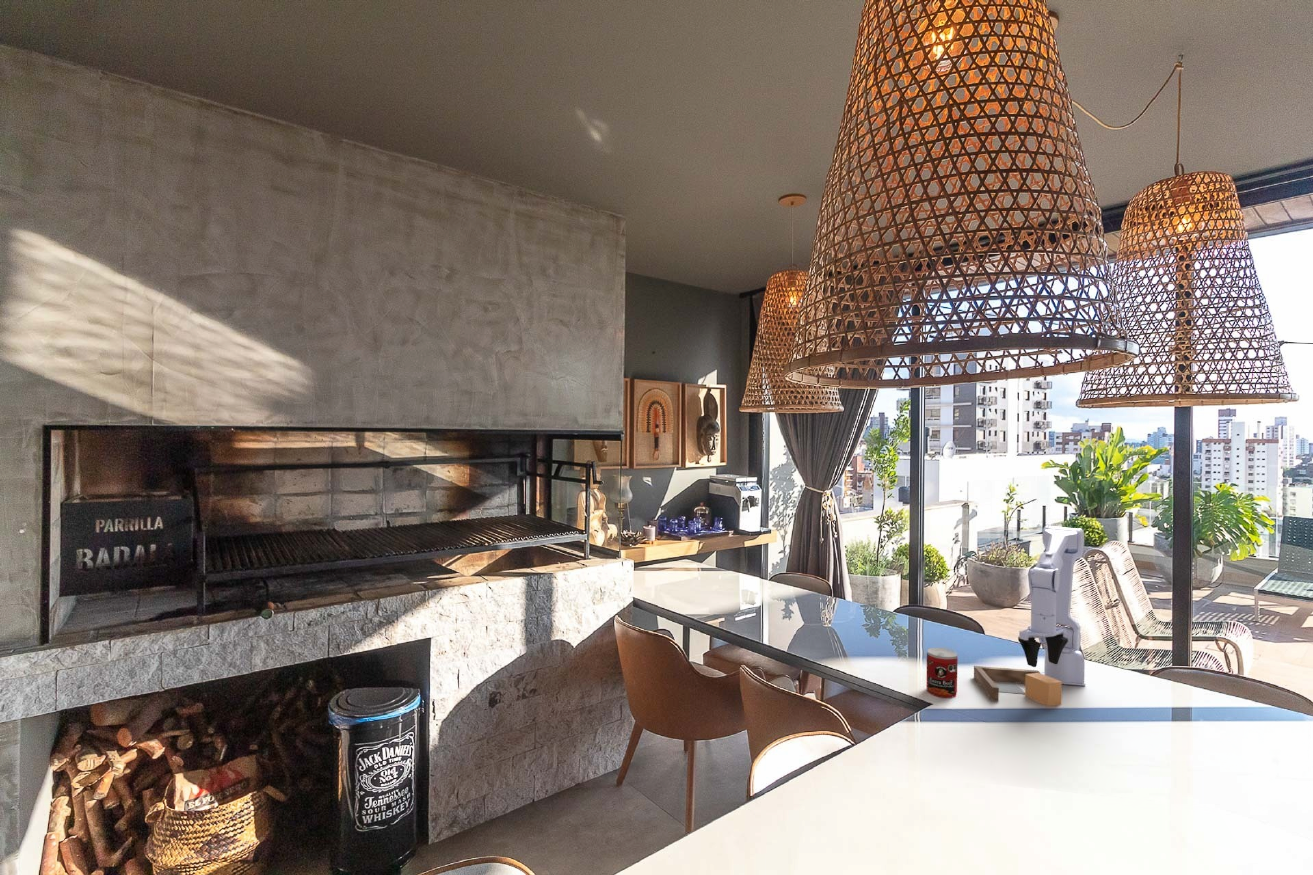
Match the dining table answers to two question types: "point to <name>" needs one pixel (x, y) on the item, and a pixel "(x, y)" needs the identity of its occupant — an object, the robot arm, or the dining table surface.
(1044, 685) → the block
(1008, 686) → the pad
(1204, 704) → the dining table surface
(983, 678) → the arena
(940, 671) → the canned food
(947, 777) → the dining table surface
